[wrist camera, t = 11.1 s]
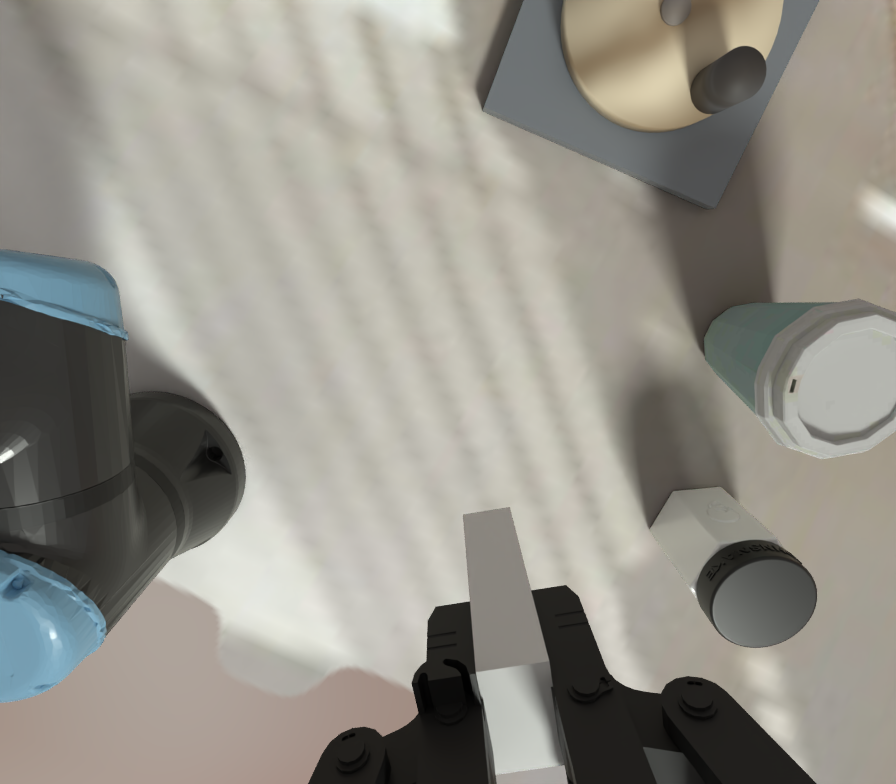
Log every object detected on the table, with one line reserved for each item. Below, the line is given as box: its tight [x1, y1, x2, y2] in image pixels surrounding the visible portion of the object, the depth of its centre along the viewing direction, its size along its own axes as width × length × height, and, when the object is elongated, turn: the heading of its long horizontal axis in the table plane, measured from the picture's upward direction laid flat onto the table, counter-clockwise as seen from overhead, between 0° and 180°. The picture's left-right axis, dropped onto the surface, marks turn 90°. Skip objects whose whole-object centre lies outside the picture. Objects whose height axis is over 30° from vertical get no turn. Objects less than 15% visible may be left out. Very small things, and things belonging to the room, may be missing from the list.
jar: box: [650, 487, 817, 648], centre depth 47 cm, size 9×8×12 cm
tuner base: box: [483, 0, 819, 209], centre depth 41 cm, size 20×20×2 cm
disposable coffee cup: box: [704, 299, 896, 459], centre depth 41 cm, size 11×11×15 cm
